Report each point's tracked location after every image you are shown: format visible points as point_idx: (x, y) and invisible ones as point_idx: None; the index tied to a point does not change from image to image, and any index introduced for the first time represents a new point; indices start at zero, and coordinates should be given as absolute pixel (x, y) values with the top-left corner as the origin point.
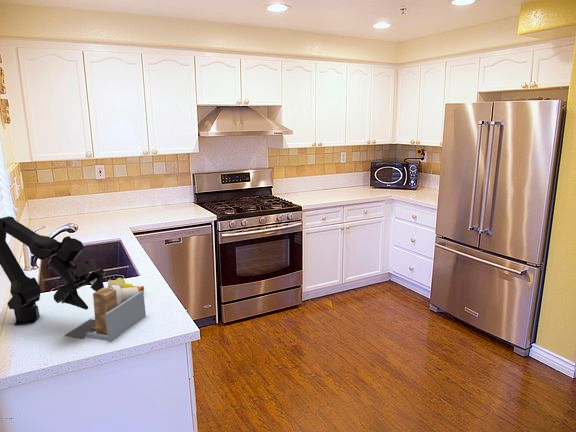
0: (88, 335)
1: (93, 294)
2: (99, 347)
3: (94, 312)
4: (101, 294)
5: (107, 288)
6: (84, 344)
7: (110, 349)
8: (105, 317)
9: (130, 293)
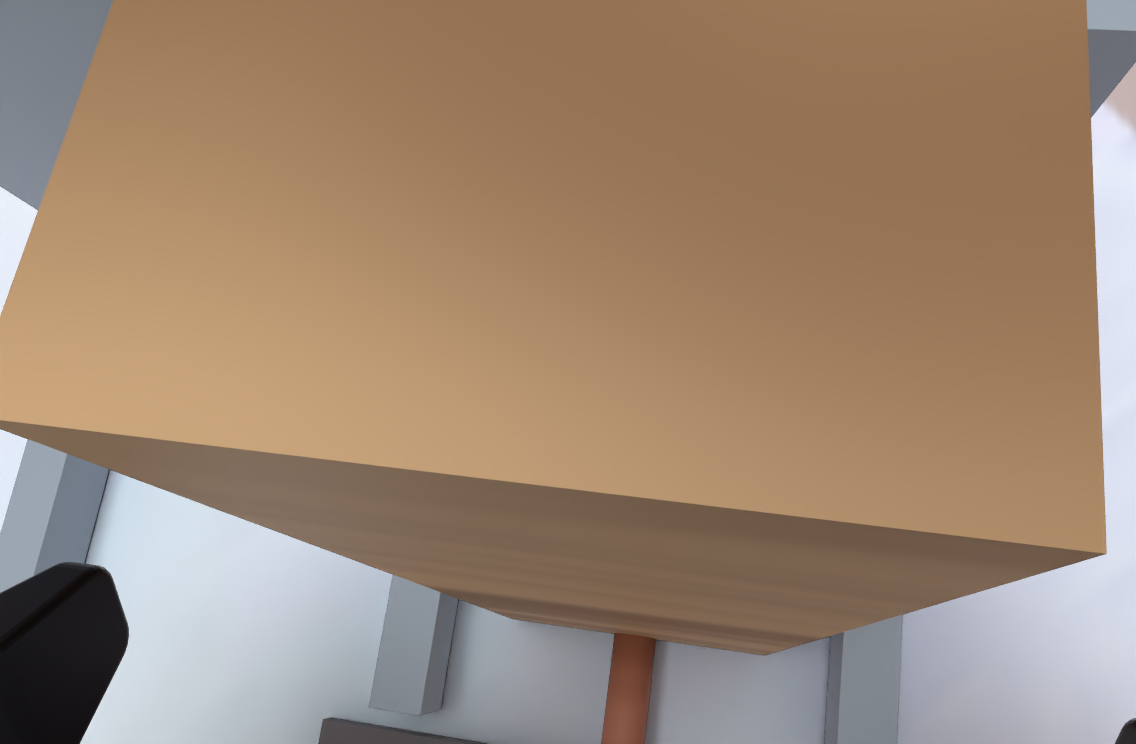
0: (892, 737)
1: (1066, 518)
2: (1100, 368)
3: (831, 634)
4: None
5: (106, 97)
6: (1087, 676)
7: (1103, 179)
8: (1109, 89)
9: None
